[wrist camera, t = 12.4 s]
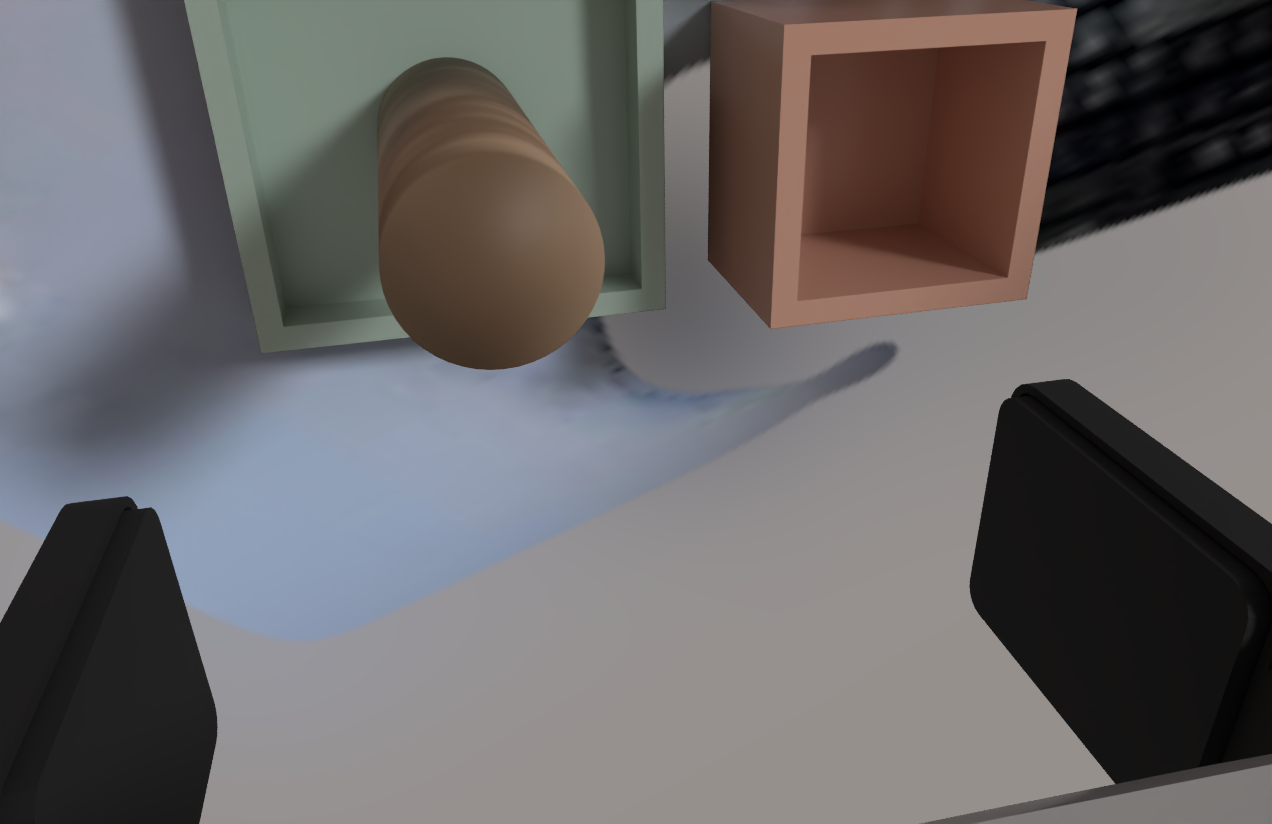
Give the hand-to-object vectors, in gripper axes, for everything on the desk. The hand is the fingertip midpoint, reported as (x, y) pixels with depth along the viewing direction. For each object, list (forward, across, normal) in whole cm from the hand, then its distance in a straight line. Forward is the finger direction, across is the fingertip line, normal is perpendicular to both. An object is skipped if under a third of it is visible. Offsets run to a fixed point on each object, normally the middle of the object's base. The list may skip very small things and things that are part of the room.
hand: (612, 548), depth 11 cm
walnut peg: (+23, +1, 0) cm, 23 cm away
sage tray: (+24, +1, 0) cm, 24 cm away
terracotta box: (+24, -12, +1) cm, 27 cm away
